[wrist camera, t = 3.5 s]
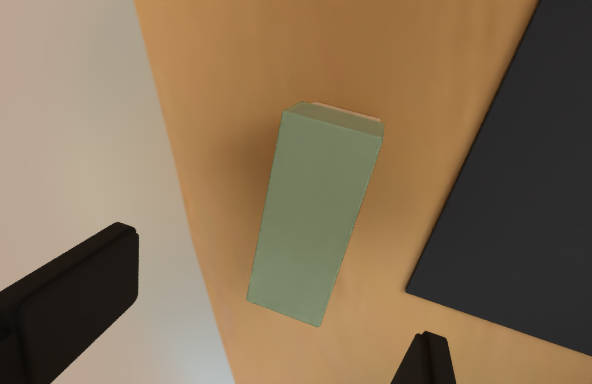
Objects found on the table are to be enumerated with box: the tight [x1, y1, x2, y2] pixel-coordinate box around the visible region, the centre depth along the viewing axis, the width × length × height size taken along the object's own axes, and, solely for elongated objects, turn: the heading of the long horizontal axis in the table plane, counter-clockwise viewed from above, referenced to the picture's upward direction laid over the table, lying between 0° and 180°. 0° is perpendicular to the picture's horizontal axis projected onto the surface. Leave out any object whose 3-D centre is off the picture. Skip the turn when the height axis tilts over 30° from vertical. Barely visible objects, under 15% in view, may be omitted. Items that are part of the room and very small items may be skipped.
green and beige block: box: [246, 101, 385, 327], centre depth 17 cm, size 10×4×6 cm, turn 168°
